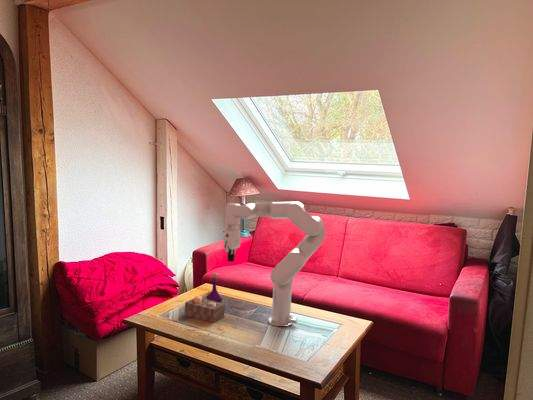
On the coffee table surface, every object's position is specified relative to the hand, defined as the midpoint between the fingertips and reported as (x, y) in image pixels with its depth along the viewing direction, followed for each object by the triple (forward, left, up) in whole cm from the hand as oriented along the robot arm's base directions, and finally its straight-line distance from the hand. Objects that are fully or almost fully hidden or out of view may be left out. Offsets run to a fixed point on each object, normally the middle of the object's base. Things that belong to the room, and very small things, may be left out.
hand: (230, 261), depth 212 cm
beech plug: (+5, +9, -28) cm, 30 cm away
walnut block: (+9, +9, -29) cm, 32 cm away
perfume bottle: (+15, -9, -29) cm, 34 cm away
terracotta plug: (+13, +9, -27) cm, 31 cm away
